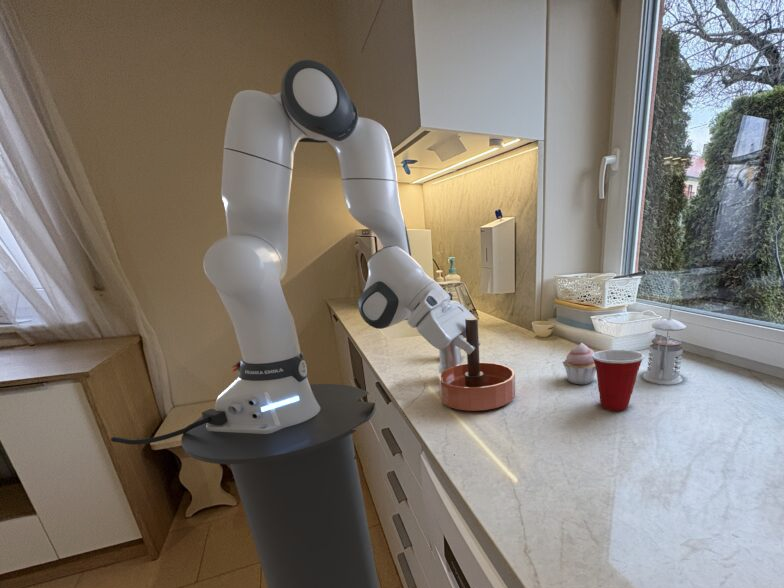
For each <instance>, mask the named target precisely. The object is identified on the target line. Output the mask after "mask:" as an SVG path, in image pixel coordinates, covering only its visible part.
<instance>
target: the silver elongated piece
mask: <svg viewBox="0 0 784 588" xmlns="http://www.w3.org/2000/svg"><path fill="white" fill-rule="evenodd" d="M438 350H439V349H438ZM462 359H463V358H462V353H461V348H459V347H457V346H455V345H454V344H453V343H450V344H449V345H448V346H446V347H445V348H444V349H442V350H439V362H438V363H439V364H438V373H439V374H440V373H441V372H442V371H443V370H445V369H447V368H449V367H452V366H456V365H460V364H464V363H463V361H462ZM439 374H438V375H439Z"/></svg>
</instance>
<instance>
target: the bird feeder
mask: <svg viewBox="0 0 784 588" xmlns="http://www.w3.org/2000/svg"><path fill="white" fill-rule="evenodd" d="M678 284H679V280H678V279H676V278H672V279H670V281H669V285H672V290H671V291H672V293H671V301H670V308H669V316H668V318H663V319H659V320H656V321H654V322H653V323H651V325H650V326H651V328H652V329H654V330H656V331H657V330H658V331H664V332H667V333H666V337H663V334H660V337H655V338H652V340H651V344H650V345H649V349H648V351H649V352H648V358H647V359H648V360H647V361H648V362H647V370H646V372H645V373H643V374H642V378H643V379H644V380H645V381H647V382H649V383H653V384H658V385H667V386H668V385H669V386H670V385H677V384H680V383H682V382H683V377H682V376H681V375H680V373H681V372H680V371H681V364H682V361H681V360H682V356H681V355H683V347H682V344H683V342H682V341H681V340H680V339H677V338H671V337H670V335H669V332H679V331H684V330H685V329H686V328H687V326H686V324H684V323H683V322H681V321H679V320H678V319H677V320H676V319H674V318H673V319H672V318H671V314H672V307H673V306H672V305H673V300H674V290H675V285H678ZM678 365H679V366H678Z"/></svg>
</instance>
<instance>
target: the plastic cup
mask: <svg viewBox="0 0 784 588" xmlns="http://www.w3.org/2000/svg"><path fill="white" fill-rule="evenodd" d="M592 358H593V360H594V363H595V367H596V372H595V373H596V378H597V380H596V381H597V389H598V393H599V403H600V406H601V407H602V408H603V409H605V410H608V411H611V412H612V411H615V412H621V411H624V410H626V409H627V408H628V406H629V404H630V401H631V397H632V395H633V392H634V388H635V384H636V380H637V377H638V373H639V371H640V367H641V364H642V361H643V360H644V358H645V354H643V353H642V352H639V351H635V350H628V349H604V350H599V351H596V352H595V351H594V353H593V354H592Z"/></svg>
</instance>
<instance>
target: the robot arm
mask: <svg viewBox="0 0 784 588" xmlns="http://www.w3.org/2000/svg"><path fill="white" fill-rule="evenodd" d="M359 113H360V112H359V110H358V108H357V106H356V105H355V102H354V101H353V100H352V98H351V96H350V95H349V92H348V90H347V89H346V88H345V86H344V84H343V82H342V81H341V80H340V78H339V77H338V76H337V75H336V73H335V72H334V71H333V70H332V69H331V68H329V67H328V66H327V65H325V64H324V63H322V62H320V61H317V60H312V59H301V60H298V61H297V60H296V61H294V62H293V63H292V64H290V66H288V67H287V69H285V72H284V74H283V75H282V79H281V83H280V91H279V92H278V93H275V94H272V93H271V94H268V93H266V92H263V91H260V90H255V89H244V90H241V91H239V92H237V93H236V94H235V96H234V97H233V98H232V102H231V105H230V109H229V113H228V117H227V121H226V126H225V132H224V139H223V142H224V143H223V155H222V171H221V185H220V186H221V188H220V189H221V190H220V195H221V200H222V202H223V207H224V215H225V221H226V236H223V237H220V238H219V239H217V240H216V241H215V242H214V243H212V244H211V245H210V247H208V249H207V250H206V252H205V254H204V257H203V262H202V263H203V270H204V273H205V275H206V278H207V279H208V280H209V282H210V283H211V284H212V285H213V286H214V287H215V289H216V292H217V293H218V296H219V297H220V300H221V302H222V304H223V306H224V309H225V310H226V313H227V314H228V317H229V318H230V321H231V323H232V326H233V328H234V332H235V333H234V334H235V336H236V339H237V343H238V348H239V350H240V355H241V358H242V359H240V360H238V361H237V362H236V364H234V365H232V366H231V369H232V372H233V373H234V372H236V371H238V376H237V378H235V379H234V380H233V382H231V383H230V384H229V385H228V386H226V388H225V389H224V390H223V391H221V392H220V394H218V396H217V398H216V400H215V404H214V406H215V408H209V409H206V410H204V411H201V417H202V416H203V419H202V420H199V421H197V422H195V421H194V422H195V423H193V422H192V423H190V424H188V425H186V426H185V427H183V428H181V429H178V430H175V431H172V432H169V433H165V434H162V435H159V436H153V437H148V438H142V439H140V438H139V439H131V438H124V437H119V436H112V437H110V441H111V442H113V443H120V444H124V445H134V446H137V445H146V444H152V443H157V442H162V441H166V440H168V439H171V438H175V437H177V436H181V435H183V433H186V432H188V431H190V430H191V429H193V428H195V427H197V426H200V425H202V424H205V423H207V425H206V427H207V431H216V432H235V433H254V434H270V433H273V432H275V431H278V430H280V429H282V428H285V427H289V426H292V425H296V424H299V423H302V422H304V421H307V420H309V419H311V418H312V417H314V416H315V415H317V414H318V413H319V411H320V406H319V404H318V403H317V401H316V399H315V397H314V395H313V392H312V390H311V387H310V385H311V384H310V381H309V379H308V367H307V363H306V360H305V355H304V352H303V351H302V350H301V347H300V343H299V337H298V333H297V328H296V323H295V319H294V316H293V314H292V312H291V310H290V308H289V305H288V303H287V300H286V297H285V294H284V291H283V288H282V285H281V282H282V281H283V279H284V278H285V277H286V275H287V271H288V261H289V260H288V259H289V211H290V210H289V208H290V198H291V189H292V180H293V169H294V158H295V152H296V148H297V145H298V143H316V144H317V143H318V144H321V143H322V144H323V143H324V144H325V143H328V144H329V145H331V147H332V148H333V149H334V152H335V153H336V156H337V159H338V164H339V171H340V178H341V187H342V192H343V198H344V201H345V205H346V207H347V210H348V212H349V214H350V215H351V216H352V217H353V219H354V220H356V221H357V222H358V223H359V224H360V225H362V226H363V227H365V228H367V229H368V230H370V232H372V233H374V235H375V236H377V238H378V239H379V242H380V243H381V246H382V247H381V249H379V250H377V251H375V252H374V253H373V254H372V255H371V256H370V257H369V259H368V261H367V270H368V271H367V272H368V273H367V279H366V283H365V286H364V289H363V290H362V293H361V294H360V295H359V298H358V301H357V307H358V313H359V315H360V316H361V318H362V320H363V321H364V322H365V323H366V324H367V325H368V326H370V327H372V328H374V329H377V330H381V329H385V328H389V327H392V326H394V325H397V324H399V323H402V322H403V321H406V323H407V324H408V325H409V326H410V327H411V328H413V329H415V328H416V331H417V332H418V333H419V334H420V336H422V337H423V338H424V339H425V340H426V341H427V342H428V343H429V344H430V345H431V346H432V347H434V348H435V349H437V350H442V349H444V348H445V347H446V346H448V345H449V344H450V343H453V344H454V345H455V346H457V347H459V348H460V350H463V351H464V353H466V355H467V354H471V353H472V352H473V351H474V350H475V347H474V346H473V345H472V344H471V343H468V342H467V341H466V326H465V319H466V318H476V317H475V315H474V314H473V313H472V312H471V311H470V310H469V309H468V308H466V307H465V306H464V305H463V304H462V303H460V302H459V301H458V300H452V301H451V300H450V298H451V297H450V295H449V294H448V293H447V292H448V291H446V290H445V289H444V288H443V287H442V286H441V285H440V284H439V283H438V282H437V280H435V279H434V278H431V277H430V276H429V275H428V274H427V273H426V272H425V270H424V268H423V267H422V265H420V263H418V262H417V261H416V260H415V259H414V258H413V257H412V252H411V251H412V250H411V246H410V239H409V233H408V229H407V224H406V221H405V218H404V215H403V210H402V206H401V199H400V194H399V193H400V192H399V183H398V175H397V168H396V161H395V156H394V151H393V147H392V143H391V139H390V136H389V133H388V132H387V129H386V128H385V127H384V126H383V125H382V124H381V123H380V122H378V121H376V120H374V119H371V118H368V117H361V116H359ZM480 345H481V342H480V341H479V346H480ZM215 409H216V410H215Z"/></svg>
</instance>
